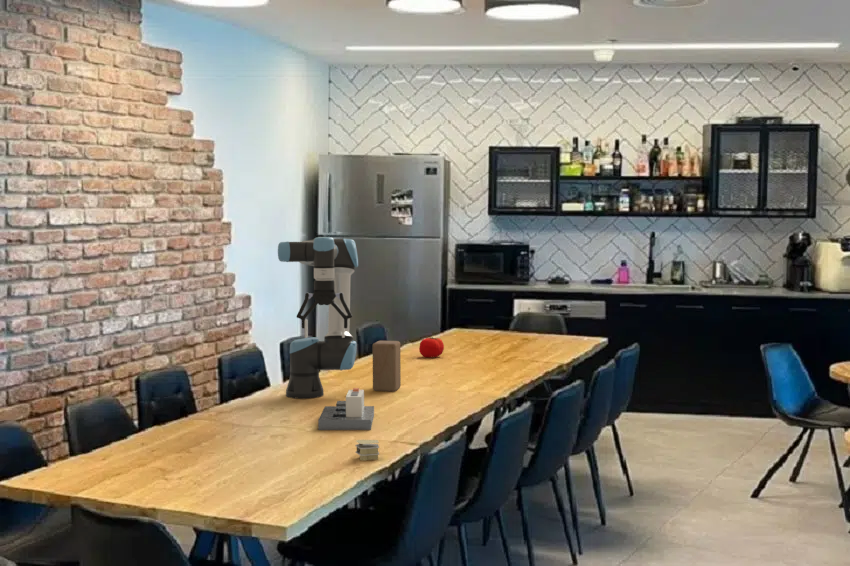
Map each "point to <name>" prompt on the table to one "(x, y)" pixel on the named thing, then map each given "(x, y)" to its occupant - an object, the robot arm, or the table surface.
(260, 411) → the table surface
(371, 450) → the building
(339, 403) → the block
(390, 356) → the wooden block
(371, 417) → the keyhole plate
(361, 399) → the light grey box
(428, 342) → the tomato
